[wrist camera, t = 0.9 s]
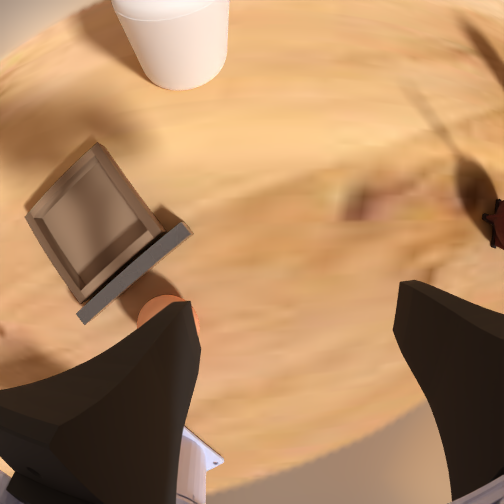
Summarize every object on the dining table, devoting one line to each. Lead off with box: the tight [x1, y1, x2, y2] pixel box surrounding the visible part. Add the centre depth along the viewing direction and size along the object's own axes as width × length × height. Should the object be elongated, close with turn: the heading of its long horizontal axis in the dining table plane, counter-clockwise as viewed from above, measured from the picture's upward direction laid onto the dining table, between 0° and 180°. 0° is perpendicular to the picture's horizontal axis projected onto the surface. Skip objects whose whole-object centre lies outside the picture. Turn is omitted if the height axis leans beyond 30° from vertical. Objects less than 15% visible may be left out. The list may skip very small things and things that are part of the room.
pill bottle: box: [111, 0, 229, 90], centre depth 16 cm, size 8×8×15 cm
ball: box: [137, 295, 200, 336], centre depth 23 cm, size 5×5×5 cm
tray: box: [25, 142, 166, 304], centre depth 23 cm, size 10×10×2 cm
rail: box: [76, 222, 194, 325], centre depth 23 cm, size 12×1×2 cm, turn 128°
